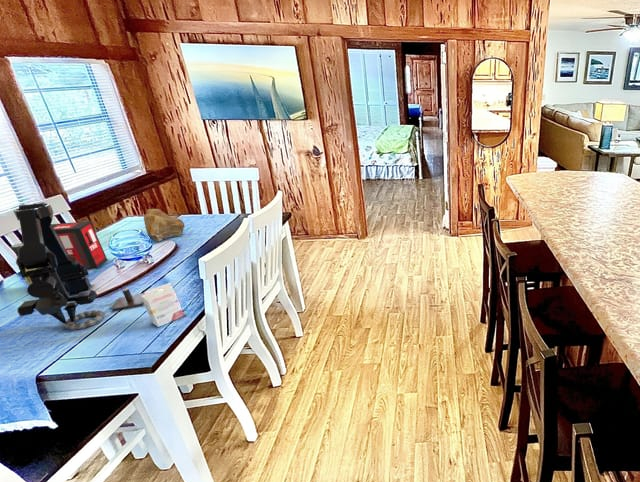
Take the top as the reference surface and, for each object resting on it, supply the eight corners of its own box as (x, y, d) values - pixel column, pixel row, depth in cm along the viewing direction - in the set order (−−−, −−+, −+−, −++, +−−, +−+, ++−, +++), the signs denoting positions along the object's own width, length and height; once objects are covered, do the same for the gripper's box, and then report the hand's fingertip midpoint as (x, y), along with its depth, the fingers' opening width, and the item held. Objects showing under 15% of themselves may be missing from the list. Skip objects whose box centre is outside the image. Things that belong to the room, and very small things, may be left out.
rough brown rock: (187, 241, 207) (181, 214, 202) (146, 246, 198) (140, 218, 192) (186, 229, 224) (181, 204, 219) (149, 232, 215) (142, 206, 210)
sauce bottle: (57, 284, 164) (35, 241, 155) (43, 292, 158) (19, 248, 150) (41, 284, 163) (19, 241, 155) (26, 292, 158) (2, 248, 149)
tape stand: (112, 311, 147) (106, 297, 144) (119, 299, 154) (113, 286, 152) (142, 305, 151) (137, 292, 148) (147, 294, 158) (142, 281, 155)
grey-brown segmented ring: (61, 333, 134) (58, 329, 133) (72, 318, 142) (70, 313, 142) (100, 326, 139) (97, 321, 138) (109, 311, 147) (107, 306, 146)
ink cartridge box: (178, 312, 147) (165, 278, 141) (184, 316, 145) (172, 282, 139) (151, 323, 141) (137, 288, 134) (157, 327, 138) (143, 292, 132)
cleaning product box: (51, 273, 172) (30, 232, 163) (63, 264, 179) (44, 224, 171) (97, 268, 177) (79, 228, 168) (107, 260, 184) (90, 221, 176)
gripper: (-2, 302, 121) (22, 342, 128) (77, 289, 129) (95, 327, 136) (15, 286, 130) (37, 324, 137) (88, 275, 138) (105, 311, 145)
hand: (69, 322), depth 138 cm, fingers closed on grey-brown segmented ring, 2 cm apart
